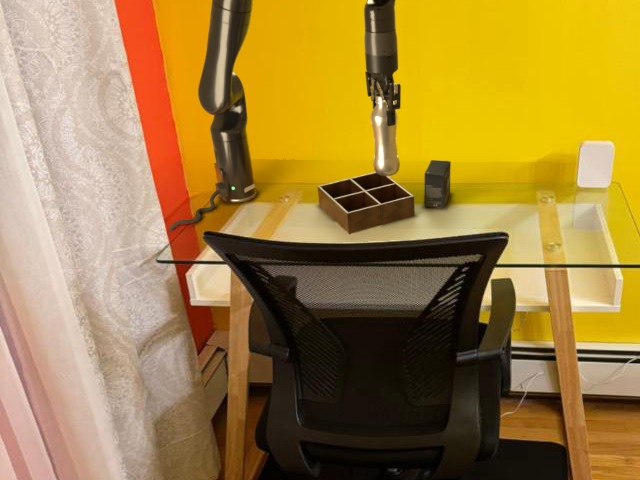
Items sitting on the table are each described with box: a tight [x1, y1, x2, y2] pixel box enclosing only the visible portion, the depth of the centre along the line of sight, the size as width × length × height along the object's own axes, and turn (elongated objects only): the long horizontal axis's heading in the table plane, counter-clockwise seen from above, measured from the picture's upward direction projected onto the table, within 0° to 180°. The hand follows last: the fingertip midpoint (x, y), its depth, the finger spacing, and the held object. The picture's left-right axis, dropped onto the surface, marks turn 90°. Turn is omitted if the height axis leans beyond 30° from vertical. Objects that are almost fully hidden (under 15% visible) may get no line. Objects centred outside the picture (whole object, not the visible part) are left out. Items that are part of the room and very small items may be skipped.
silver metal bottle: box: [370, 93, 401, 177], centre depth 193 cm, size 6×7×20 cm
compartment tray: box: [317, 171, 416, 235], centre depth 205 cm, size 19×19×6 cm
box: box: [423, 159, 452, 209], centre depth 207 cm, size 9×6×10 cm, turn 167°
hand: (384, 120), depth 190 cm, fingers closed on silver metal bottle, 6 cm apart
